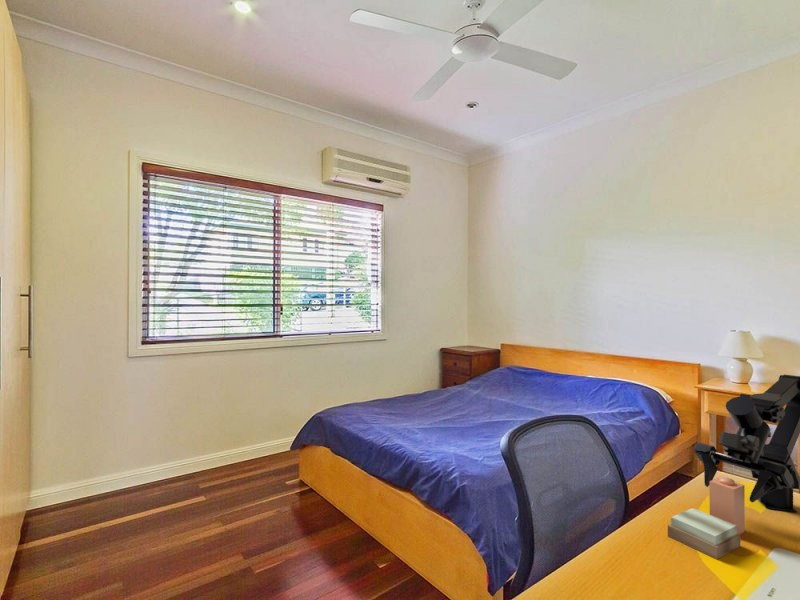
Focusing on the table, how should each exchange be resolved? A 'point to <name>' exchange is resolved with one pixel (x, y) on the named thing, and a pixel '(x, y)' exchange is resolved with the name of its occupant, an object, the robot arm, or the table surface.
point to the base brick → (704, 533)
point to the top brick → (728, 501)
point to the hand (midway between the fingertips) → (727, 493)
